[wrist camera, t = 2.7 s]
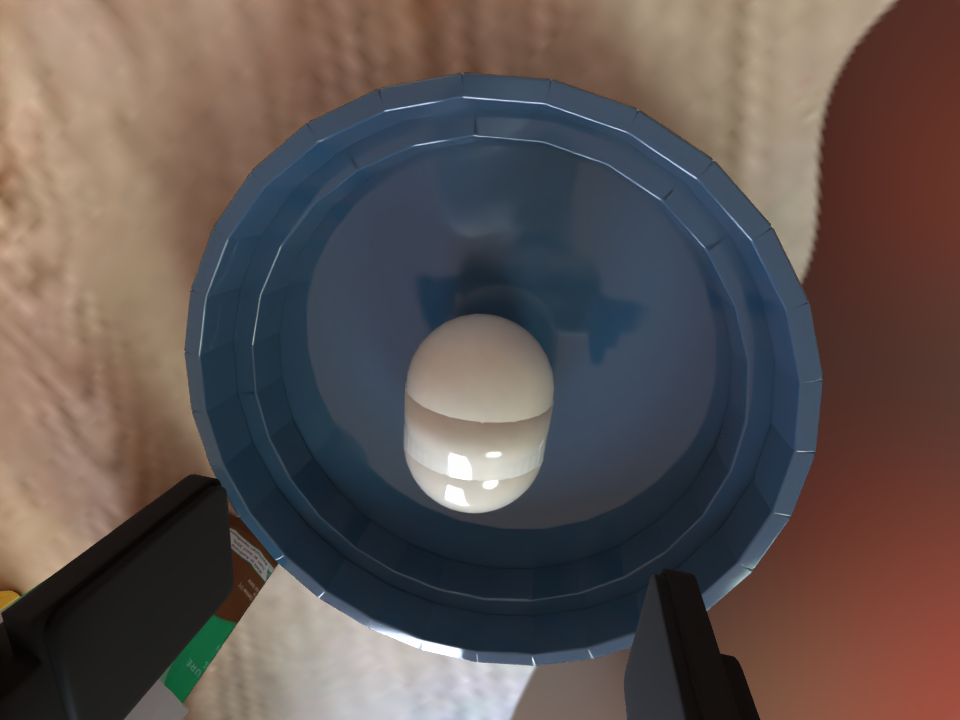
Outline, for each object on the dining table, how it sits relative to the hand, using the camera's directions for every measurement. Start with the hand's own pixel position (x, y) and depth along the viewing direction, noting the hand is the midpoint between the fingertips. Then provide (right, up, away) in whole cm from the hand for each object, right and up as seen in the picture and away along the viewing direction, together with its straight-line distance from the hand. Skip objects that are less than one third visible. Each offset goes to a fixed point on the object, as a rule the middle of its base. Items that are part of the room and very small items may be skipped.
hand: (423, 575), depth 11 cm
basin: (+2, +4, +9) cm, 10 cm away
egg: (+2, +4, +9) cm, 10 cm away
